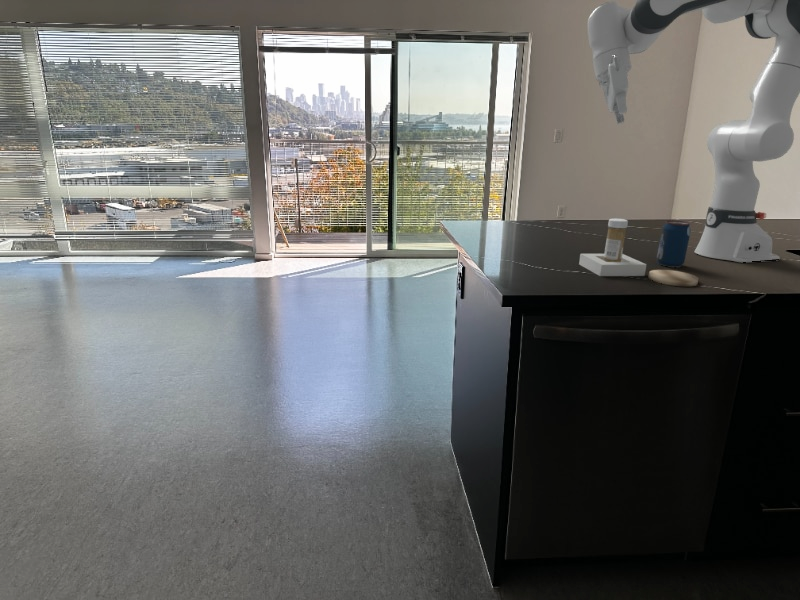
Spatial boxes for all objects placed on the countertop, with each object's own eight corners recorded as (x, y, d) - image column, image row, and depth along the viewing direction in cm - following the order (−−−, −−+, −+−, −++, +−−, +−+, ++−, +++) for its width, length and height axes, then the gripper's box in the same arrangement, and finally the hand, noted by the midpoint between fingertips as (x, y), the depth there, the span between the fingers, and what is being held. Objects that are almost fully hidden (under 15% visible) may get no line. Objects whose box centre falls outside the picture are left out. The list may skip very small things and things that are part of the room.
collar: (620, 264, 141) (621, 253, 140) (644, 275, 130) (646, 264, 129) (579, 264, 139) (580, 253, 139) (600, 276, 128) (601, 264, 127)
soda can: (688, 266, 140) (697, 223, 137) (674, 269, 137) (683, 225, 133) (664, 260, 146) (672, 219, 142) (650, 263, 142) (658, 221, 139)
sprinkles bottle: (623, 270, 134) (631, 220, 130) (612, 273, 132) (621, 221, 127) (608, 266, 138) (616, 217, 133) (597, 269, 135) (605, 218, 131)
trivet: (679, 274, 132) (679, 269, 132) (707, 286, 122) (708, 281, 121) (639, 274, 131) (640, 269, 130) (665, 286, 121) (666, 281, 120)
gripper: (628, 46, 123) (638, 102, 123) (622, 76, 143) (631, 125, 142) (600, 55, 126) (611, 110, 126) (598, 84, 145) (607, 131, 145)
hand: (622, 118), depth 134 cm, fingers open, 8 cm apart
